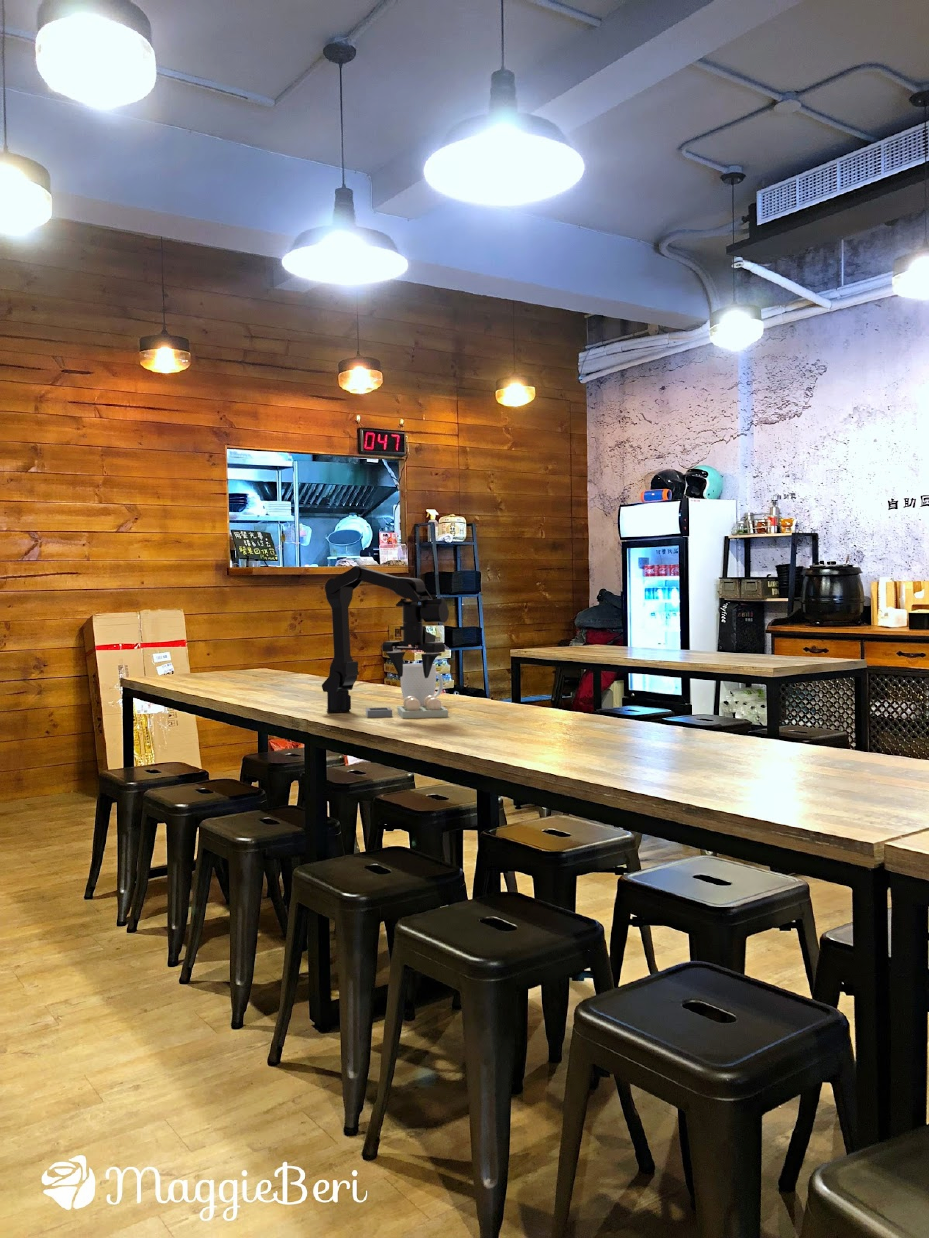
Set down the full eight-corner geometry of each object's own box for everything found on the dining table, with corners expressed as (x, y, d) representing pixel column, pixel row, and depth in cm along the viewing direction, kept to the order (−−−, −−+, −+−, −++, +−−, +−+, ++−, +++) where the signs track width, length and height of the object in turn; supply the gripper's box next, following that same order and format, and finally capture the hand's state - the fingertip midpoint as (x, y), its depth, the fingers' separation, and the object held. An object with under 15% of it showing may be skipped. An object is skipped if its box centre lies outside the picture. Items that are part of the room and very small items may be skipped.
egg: (406, 713, 269) (406, 699, 269) (404, 711, 273) (405, 697, 273) (421, 713, 270) (421, 698, 269) (419, 711, 274) (419, 697, 273)
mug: (431, 702, 304) (431, 662, 304) (453, 705, 296) (453, 663, 296) (393, 706, 295) (393, 664, 295) (414, 709, 286) (414, 666, 286)
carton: (402, 718, 267) (402, 699, 267) (397, 712, 280) (397, 694, 280) (448, 716, 270) (448, 698, 269) (441, 711, 282) (440, 693, 282)
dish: (367, 717, 269) (367, 710, 269) (365, 714, 276) (365, 707, 276) (392, 716, 271) (392, 710, 271) (389, 713, 278) (389, 707, 277)
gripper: (455, 621, 272) (456, 676, 272) (404, 621, 282) (405, 673, 283) (432, 623, 263) (433, 679, 263) (380, 622, 273) (381, 676, 274)
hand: (413, 677), depth 271 cm, fingers open, 9 cm apart
